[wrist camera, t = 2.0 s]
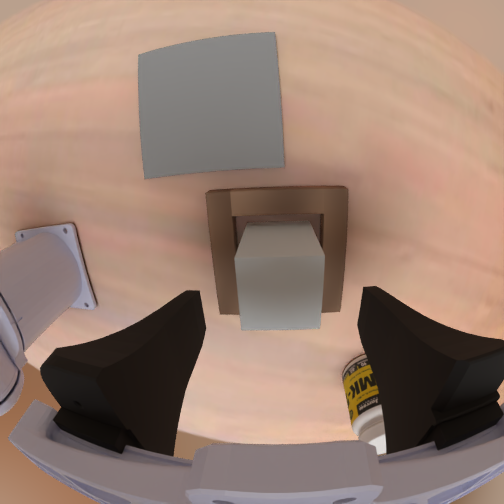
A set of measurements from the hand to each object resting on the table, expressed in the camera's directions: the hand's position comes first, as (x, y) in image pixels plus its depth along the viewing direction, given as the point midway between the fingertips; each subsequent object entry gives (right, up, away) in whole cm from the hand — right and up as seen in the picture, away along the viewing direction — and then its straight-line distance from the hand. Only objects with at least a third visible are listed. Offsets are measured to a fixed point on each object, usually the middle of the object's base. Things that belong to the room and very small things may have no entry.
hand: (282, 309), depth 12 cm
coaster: (-4, +12, +3) cm, 13 cm away
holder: (0, +3, +7) cm, 7 cm away
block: (0, +3, +7) cm, 7 cm away
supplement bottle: (+9, -8, +10) cm, 16 cm away
